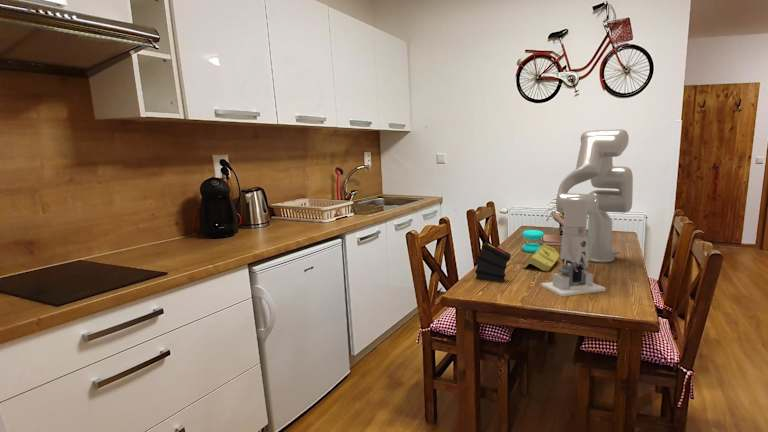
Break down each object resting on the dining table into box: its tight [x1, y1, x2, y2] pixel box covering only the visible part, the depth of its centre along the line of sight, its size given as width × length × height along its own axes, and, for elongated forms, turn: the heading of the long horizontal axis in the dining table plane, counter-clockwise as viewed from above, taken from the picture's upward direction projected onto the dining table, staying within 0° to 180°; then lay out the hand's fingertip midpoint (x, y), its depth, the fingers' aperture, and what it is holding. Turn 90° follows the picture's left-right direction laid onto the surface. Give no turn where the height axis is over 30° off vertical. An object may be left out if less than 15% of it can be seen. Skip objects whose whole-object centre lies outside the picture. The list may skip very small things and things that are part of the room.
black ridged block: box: [474, 241, 512, 282], centre depth 165 cm, size 4×13×15 cm, turn 64°
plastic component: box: [522, 244, 560, 272], centre depth 183 cm, size 20×7×10 cm
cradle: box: [540, 270, 606, 297], centre depth 152 cm, size 18×12×5 cm, turn 103°
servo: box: [555, 262, 591, 284], centre depth 151 cm, size 11×4×7 cm, turn 103°
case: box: [540, 210, 564, 247], centre depth 223 cm, size 20×21×16 cm
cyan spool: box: [522, 229, 545, 254], centre depth 206 cm, size 10×10×10 cm
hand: (572, 279), depth 152 cm, fingers closed on servo, 4 cm apart
